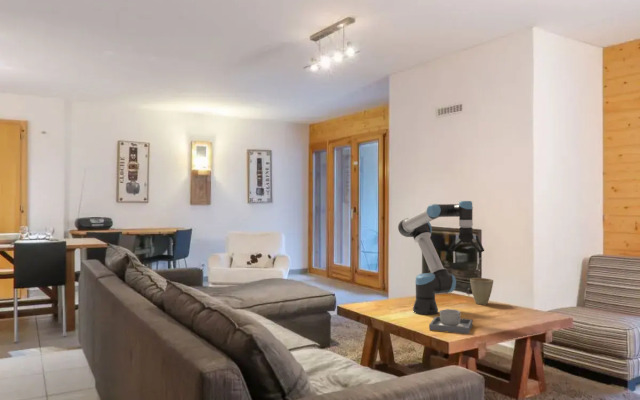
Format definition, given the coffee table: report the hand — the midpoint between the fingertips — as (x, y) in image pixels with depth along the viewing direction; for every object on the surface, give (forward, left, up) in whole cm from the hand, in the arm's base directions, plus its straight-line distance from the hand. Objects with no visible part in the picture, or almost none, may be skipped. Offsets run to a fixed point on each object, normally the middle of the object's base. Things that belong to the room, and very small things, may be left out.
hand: (466, 263), depth 291 cm
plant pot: (+5, +45, -32) cm, 55 cm away
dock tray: (-5, -28, -32) cm, 43 cm away
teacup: (-6, -28, -31) cm, 42 cm away
